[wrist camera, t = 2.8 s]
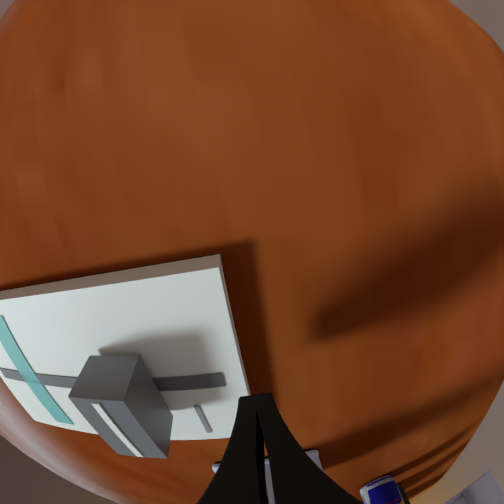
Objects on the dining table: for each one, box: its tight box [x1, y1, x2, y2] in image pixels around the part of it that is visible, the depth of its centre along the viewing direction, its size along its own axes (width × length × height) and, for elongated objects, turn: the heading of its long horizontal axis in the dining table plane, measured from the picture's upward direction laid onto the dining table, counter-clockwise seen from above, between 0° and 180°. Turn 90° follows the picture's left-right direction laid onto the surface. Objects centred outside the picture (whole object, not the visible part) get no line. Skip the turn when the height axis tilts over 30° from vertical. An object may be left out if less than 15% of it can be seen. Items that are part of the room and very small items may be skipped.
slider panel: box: [0, 254, 251, 440], centre depth 13 cm, size 20×12×2 cm, turn 98°
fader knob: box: [68, 354, 173, 459], centre depth 10 cm, size 3×5×3 cm, turn 8°
